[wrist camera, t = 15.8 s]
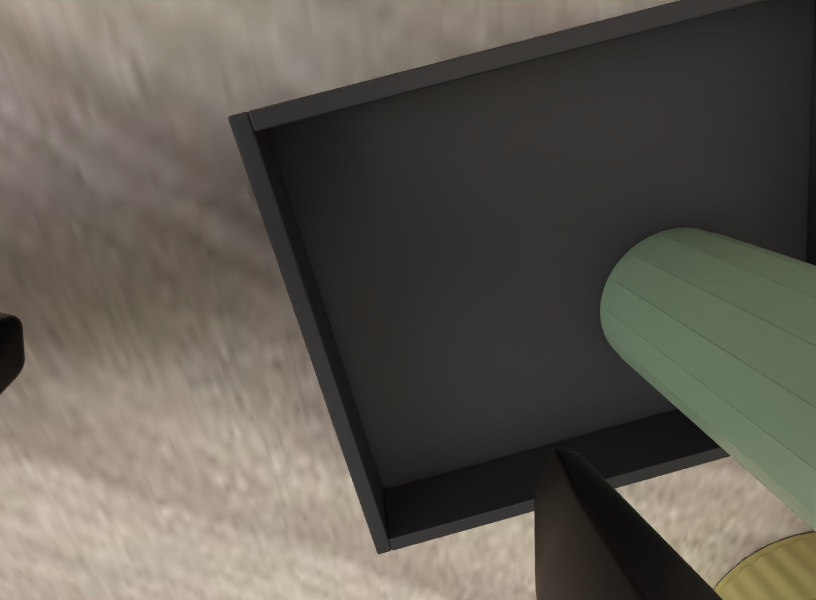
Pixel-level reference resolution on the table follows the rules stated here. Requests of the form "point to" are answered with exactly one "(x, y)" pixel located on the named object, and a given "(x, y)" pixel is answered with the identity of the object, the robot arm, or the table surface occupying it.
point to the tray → (524, 242)
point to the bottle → (726, 348)
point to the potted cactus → (775, 572)
